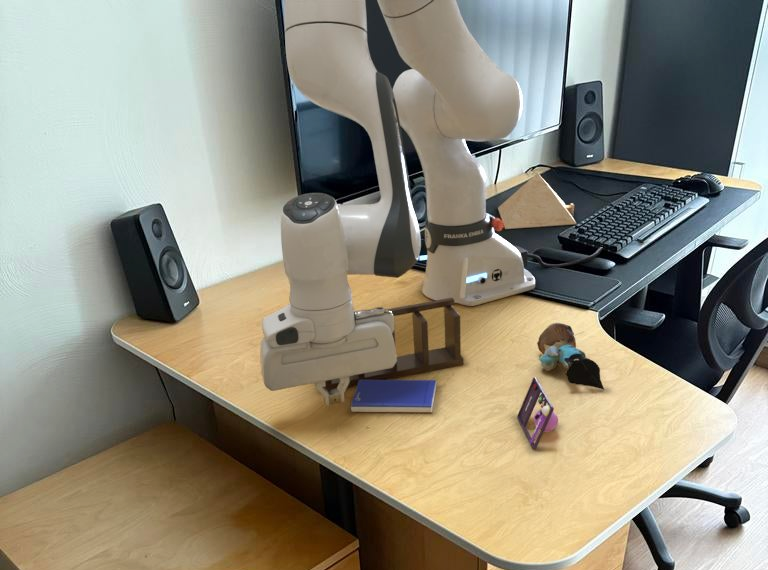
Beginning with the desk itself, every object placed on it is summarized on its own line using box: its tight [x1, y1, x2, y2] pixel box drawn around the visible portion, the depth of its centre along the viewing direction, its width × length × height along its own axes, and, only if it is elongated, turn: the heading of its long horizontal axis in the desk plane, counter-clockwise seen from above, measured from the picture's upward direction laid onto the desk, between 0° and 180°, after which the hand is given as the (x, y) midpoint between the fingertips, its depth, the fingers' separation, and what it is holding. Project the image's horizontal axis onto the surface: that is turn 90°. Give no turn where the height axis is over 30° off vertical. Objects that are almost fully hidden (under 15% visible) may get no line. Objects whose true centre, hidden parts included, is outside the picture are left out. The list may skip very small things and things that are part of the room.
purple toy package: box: [516, 377, 559, 450], centre depth 108 cm, size 7×5×9 cm
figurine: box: [536, 322, 605, 391], centre depth 121 cm, size 8×16×6 cm, turn 10°
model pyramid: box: [497, 172, 577, 230], centre depth 183 cm, size 17×17×10 cm
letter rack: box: [325, 298, 465, 390], centre depth 125 cm, size 24×5×10 cm, turn 105°
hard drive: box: [350, 379, 437, 413], centre depth 120 cm, size 2×8×12 cm
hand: (334, 402), depth 118 cm, fingers closed
